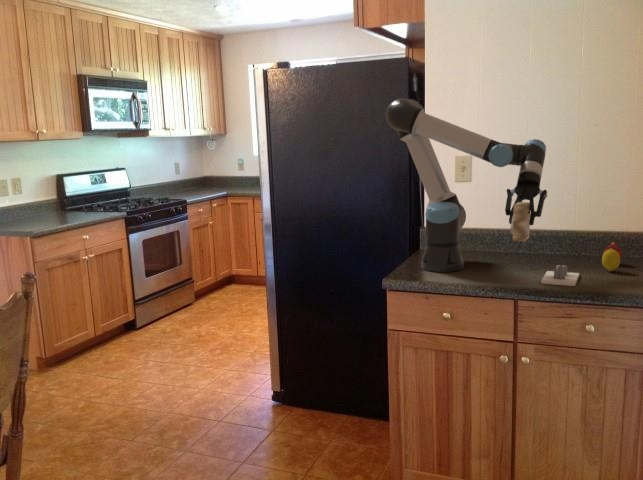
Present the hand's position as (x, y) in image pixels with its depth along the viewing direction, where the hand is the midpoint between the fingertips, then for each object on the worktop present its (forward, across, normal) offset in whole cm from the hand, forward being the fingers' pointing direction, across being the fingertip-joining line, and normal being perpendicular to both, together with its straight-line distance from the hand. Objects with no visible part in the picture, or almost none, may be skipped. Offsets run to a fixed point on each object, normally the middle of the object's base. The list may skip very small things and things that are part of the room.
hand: (519, 231), depth 195 cm
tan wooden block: (0, 0, -5) cm, 5 cm away
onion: (-11, -27, -33) cm, 44 cm away
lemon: (-2, -27, -24) cm, 36 cm away
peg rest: (+10, -13, -12) cm, 20 cm away
